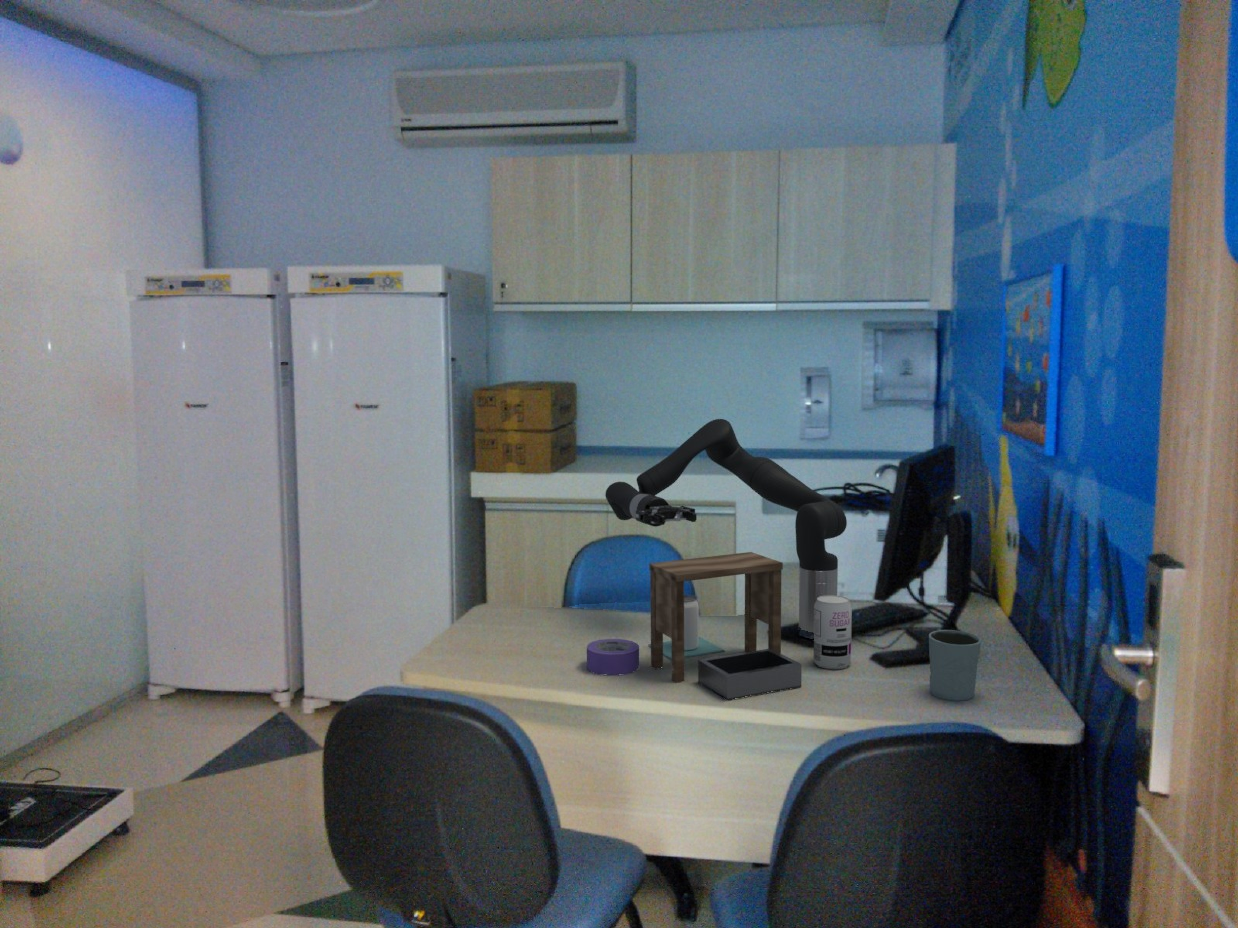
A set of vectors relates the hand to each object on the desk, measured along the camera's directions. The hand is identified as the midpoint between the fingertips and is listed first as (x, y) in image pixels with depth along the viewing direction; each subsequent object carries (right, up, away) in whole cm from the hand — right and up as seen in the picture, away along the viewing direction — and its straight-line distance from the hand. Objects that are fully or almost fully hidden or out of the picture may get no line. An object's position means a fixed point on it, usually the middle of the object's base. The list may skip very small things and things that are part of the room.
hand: (679, 519), depth 236 cm
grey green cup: (+54, -34, -35) cm, 73 cm away
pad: (+1, -31, -3) cm, 31 cm away
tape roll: (-16, -33, -16) cm, 40 cm away
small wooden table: (+7, -32, -16) cm, 37 cm away
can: (+1, -30, -3) cm, 31 cm away
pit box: (+13, -33, -29) cm, 46 cm away
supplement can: (+33, -32, -16) cm, 49 cm away
